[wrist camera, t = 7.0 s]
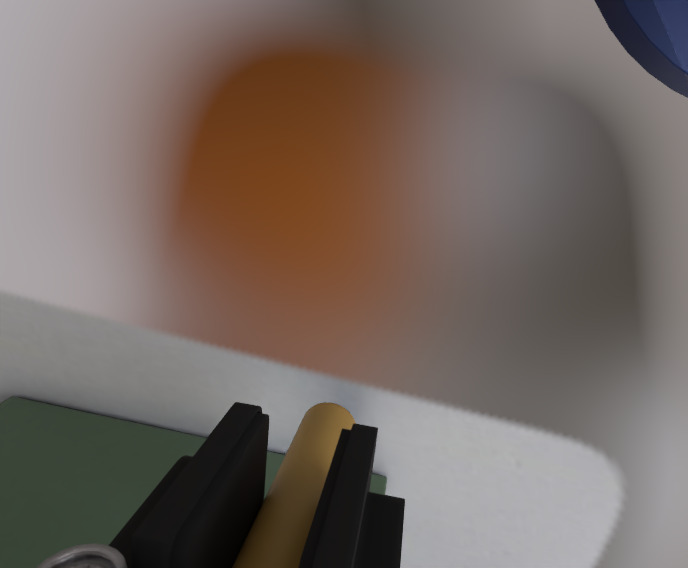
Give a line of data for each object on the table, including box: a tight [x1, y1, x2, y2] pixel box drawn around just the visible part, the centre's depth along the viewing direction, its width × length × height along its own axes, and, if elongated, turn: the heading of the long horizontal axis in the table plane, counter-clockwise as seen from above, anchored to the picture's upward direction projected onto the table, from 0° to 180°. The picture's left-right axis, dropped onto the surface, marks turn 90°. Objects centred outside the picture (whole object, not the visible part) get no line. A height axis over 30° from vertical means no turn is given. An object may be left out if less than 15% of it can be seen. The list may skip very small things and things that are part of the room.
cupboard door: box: [0, 397, 387, 568], centre depth 14 cm, size 7×18×16 cm, turn 83°
